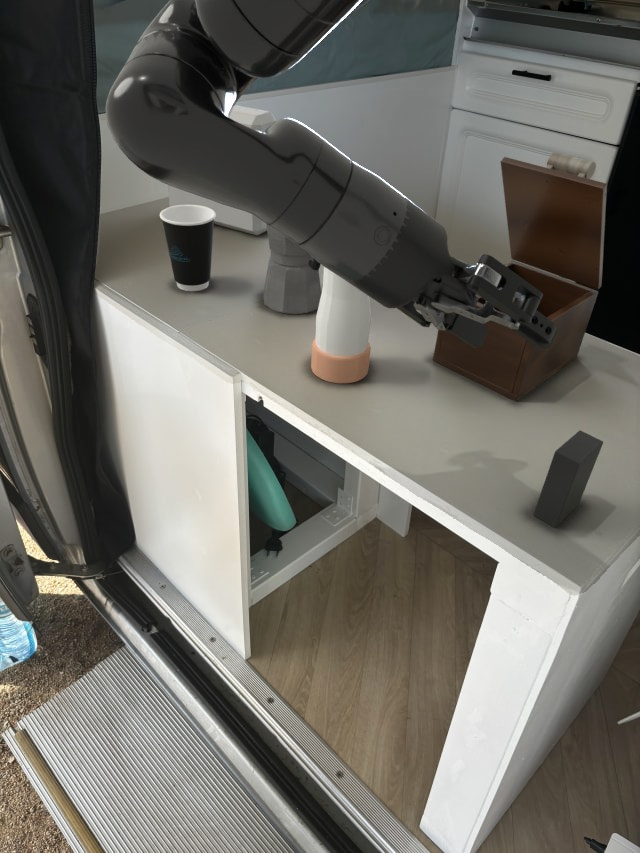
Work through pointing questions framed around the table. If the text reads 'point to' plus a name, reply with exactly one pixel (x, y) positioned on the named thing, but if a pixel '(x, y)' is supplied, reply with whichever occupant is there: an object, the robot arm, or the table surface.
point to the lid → (556, 216)
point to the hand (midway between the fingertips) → (514, 339)
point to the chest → (513, 355)
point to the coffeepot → (290, 277)
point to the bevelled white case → (223, 213)
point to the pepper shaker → (341, 332)
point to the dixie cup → (189, 244)
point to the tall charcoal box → (567, 478)
